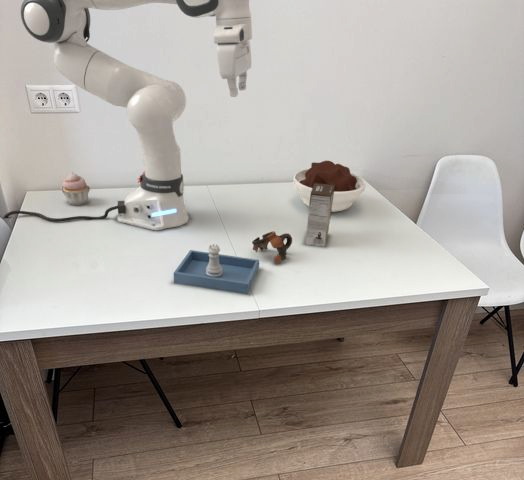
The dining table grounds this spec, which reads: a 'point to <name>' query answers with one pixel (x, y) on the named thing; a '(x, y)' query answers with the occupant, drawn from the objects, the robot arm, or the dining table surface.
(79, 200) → the cupcake
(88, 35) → the robot arm
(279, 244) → the broken clay pot
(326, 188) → the coffee box
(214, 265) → the rook chess piece
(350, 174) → the bowl of brown lumps
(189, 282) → the tray
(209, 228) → the dining table surface
